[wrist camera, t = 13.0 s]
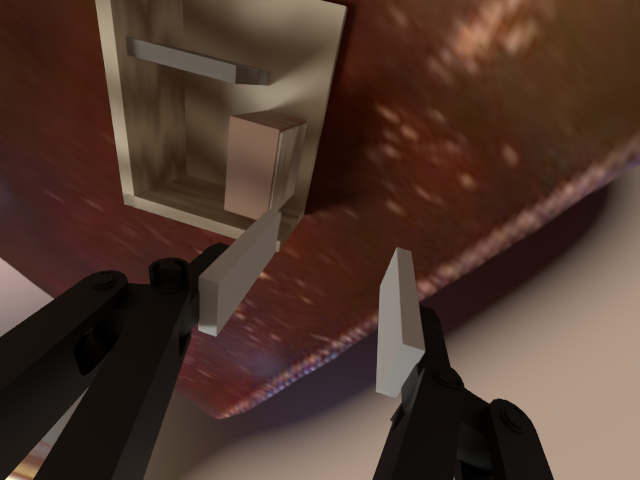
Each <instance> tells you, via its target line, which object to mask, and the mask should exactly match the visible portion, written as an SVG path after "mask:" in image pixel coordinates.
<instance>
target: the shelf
mask: <svg viewBox="0 0 640 480" xmlns="http://www.w3.org/2000/svg"><path fill="white" fill-rule="evenodd" d="M95 2H96V9H97V16H98V23H99V30H100V37H101V44H102V51H103V58H104V65H105V72H106V79H107V86H108V93H109V100H110V107H111V114H112V121H113V128H114V135H115V142H116V149H117V156H118V163H119V170H120V177H121V184H122V191H123V198H124V204H126V205H129V206H133V207H136V208H139V209H142V210H145V211H148V212H152V213H155V214H158V215H161V216H164V217H168V218H171V219H174V220H177V221H180V222H184V223H187V224H190V225H193V226H196V227H200V228H203V229H206V230H209V231H212V232H215V233H219V234H222V235H225V236H228V237H231V238H235V239H238V238H239V237H240V236H241V235H242V234H243V233H244V232H245V231H246V230H247V229H248V228H249V227H250V226H251V225H252V224H253V223H254V222H255V221H256V220H255V219H252V218H249V217H246V216H243V215H239V214H236V213H233V212H230V211H227V210H224V205H225V188H226V172H227V155H228V139H229V123H230V116H232V115H238V114H245V113H252V112H259V111H266V110H270V111H274V112H277V113H281V114H284V115H288V116H292V117H295V118H299V119H302V120H306V123H307V128H306V133H305V138H304V143H303V148H302V154H301V159H300V164H299V169H298V174H297V180H296V185H295V190H294V194H293V195H292V196H291V197H290V198H289V200H288V201H287V202H286V203H285V204H284V205H283V206H282V207H281V208H280V209H279V210H278V211H279V212H282V213H281V219H280V225H279V231H278V237H277V243H276V249H275V251H276V252H279V251H280V250H281V248H282V247H283V245H284V244H285V242H286V241H287V239H288V238H289V236H290V235H291V233H292V232H293V230H294V229H295V228H296V226H297V225H298V223H299V222H300V220H301V219H302V217H303V216H304V212H305V207H306V202H307V198H308V193H309V188H310V184H311V179H312V174H313V169H314V165H315V160H316V155H317V151H318V146H319V141H320V137H321V132H322V127H323V123H324V118H325V113H326V109H327V104H328V99H329V94H330V90H331V85H332V80H333V76H334V71H335V66H336V62H337V57H338V52H339V48H340V43H341V38H342V33H343V29H344V24H345V19H346V15H347V10H348V9H347V7H346V6H343V5H339V4H335V3H330V2H326V1H322V0H95Z"/></svg>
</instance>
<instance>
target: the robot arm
mask: <svg viewBox="0 0 640 480" xmlns="http://www.w3.org/2000/svg"><path fill="white" fill-rule="evenodd" d="M281 213H282V212H279V211H275V210H272V209H268V210H267V211H266V212H265V213H264V214H262V215H261V216H260V217H259V218H258V219H257V220H256V221H255V222H254V223H253V224H252V225H251V226H250V227H249V228H248V229H247V230H246V231H245V232H244V233H243V234H242V235H241V236H240V237H239V238H238V239H237V240H236V241H235V242H234V243H233V244H232V245H231V246H229V245H226V244H223V243H220V242H219V243H217V244H214V245H212V246H209V247H208V248H207V249H206V250H205V251H203V252H202V254H200V255H199V256H198V257H197V258H196V259H194V260H193V261H192V262H191V263H190V264H189V263H188V262H187V261H185V260H183V259H179V258H164V259H160V260H157V261H155V262H153V263H152V264H151V265H150V266H149V276H150V284H134V283H128V280H127V277H126V275H125V274H124V273H121V272H119V271H112V270H109V271H100V272H97V273H93V274H91V275H89V276H87V277H85V278H84V279H83V280H81V281H80V282H78V283H77V284H75V285H74V286H73V287H71V288H70V289H68V290H67V291H65V292H64V293H63V294H61V295H60V296H58V297H57V298H55V299H54V300H53V301H51V302H50V303H48V304H47V305H46V306H44V307H43V308H41V309H40V310H38V311H37V312H36V313H34V314H33V315H31V316H30V317H28V318H27V319H26V320H24V321H23V322H21V323H20V324H18V325H17V326H16V327H14V328H13V329H11V330H10V331H8V332H7V333H6V334H4V335H3V336H1V337H0V480H5V479H6V478H7V477H8V476H9V475H10V474H11V472H12V471H13V470H14V469H15V468H16V467H17V466H18V465H19V464H20V462H21V461H22V460H23V459H24V458H25V457H26V456H27V455H28V454H29V452H30V451H31V450H32V449H33V448H34V447H35V446H36V445H37V444H38V442H39V441H40V440H41V439H42V438H43V437H44V436H45V435H46V434H47V432H48V431H49V430H50V429H51V428H52V427H53V426H54V425H55V424H56V422H57V421H58V420H59V419H60V418H61V417H62V416H63V415H64V414H65V412H66V411H67V410H68V409H69V408H70V407H71V406H72V405H73V404H74V402H75V401H76V400H77V399H78V398H79V397H80V396H81V395H82V394H83V392H84V391H85V390H86V389H87V388H88V387H89V388H88V390H87V391H86V393H85V395H84V396H83V398H82V400H81V402H80V403H79V404H78V406H77V408H76V409H75V411H74V413H73V414H72V416H71V418H70V420H69V421H68V423H67V424H66V426H65V428H64V429H63V431H62V433H61V434H60V436H59V438H58V439H57V441H56V443H55V444H54V446H53V448H52V449H51V451H50V452H49V454H48V456H47V457H46V459H45V461H44V462H43V464H42V466H41V467H40V469H39V471H38V472H37V474H36V476H35V477H34V479H33V480H143V478H144V475H145V472H146V469H147V466H148V463H149V460H150V457H151V454H152V451H153V448H154V445H155V443H156V440H157V437H158V434H159V431H160V428H161V425H162V422H163V419H164V416H165V413H166V410H167V407H168V404H169V401H170V398H171V395H172V392H173V390H174V387H175V384H176V381H177V378H178V375H179V372H180V369H181V366H182V363H183V360H184V357H185V354H186V351H187V348H188V345H189V342H190V339H191V333H192V328H193V327H194V326H195V324H196V323H197V322H198V330H199V331H202V332H204V333H207V334H210V335H213V336H217V335H218V333H219V332H220V331H221V329H222V328H223V326H224V325H225V323H226V322H227V321H228V319H229V318H230V316H231V315H232V313H233V312H234V311H235V309H236V308H237V306H238V305H239V303H240V302H241V301H242V299H243V298H244V296H245V295H246V294H247V292H248V291H249V289H250V288H251V286H252V285H253V284H254V282H255V281H256V279H257V278H258V276H259V275H260V274H261V272H262V271H263V269H264V268H265V266H266V265H267V264H268V262H269V261H270V259H271V258H272V256H273V255H274V254H275V249H276V243H277V237H278V231H279V225H280V219H281ZM441 329H442V328H441V324H440V319H439V317H438V316H437V314H436V313H435V312H434V310H433V309H431V308H427V307H424V306H421V305H419V303H418V297H417V290H416V283H415V276H414V269H413V262H412V256H411V251H408V250H404V249H401V248H398V247H397V248H396V250H395V253H394V255H393V257H392V260H391V262H390V264H389V267H388V269H387V271H386V274H385V276H384V278H383V281H382V283H381V285H380V302H379V328H378V354H377V381H376V392H379V393H381V394H384V395H387V396H390V397H393V398H396V397H397V396H398V394H399V393H400V391H401V392H402V403H401V404H400V406H399V407H398V409H397V410H396V412H395V413H394V415H393V416H392V418H391V419H390V420H391V421H392V422H393V423H392V426H391V428H390V431H389V434H388V437H387V440H386V443H385V446H384V448H383V451H382V454H381V457H380V460H379V463H378V465H377V468H376V471H375V474H374V477H373V480H454V478H455V480H554V479H553V476H552V473H551V470H550V467H549V465H548V462H547V459H546V457H545V454H544V451H543V448H542V445H541V443H540V440H539V437H538V434H537V432H536V429H535V428H534V425H533V424H532V422H531V420H530V419H529V418H528V417H527V415H526V414H525V413H524V412H523V411H522V410H521V409H519V408H518V407H517V406H516V405H514V404H513V403H511V402H509V401H507V400H503V399H495V400H493V401H492V402H491V403H490V404H489V403H487V402H485V401H484V400H482V399H481V398H479V397H478V396H476V395H474V394H473V393H471V392H470V391H468V390H467V389H466V388H465V387H464V383H463V381H462V379H461V377H460V376H459V375H458V374H457V372H456V371H455V370H454V369H453V368H451V367H450V363H449V359H448V354H447V350H446V345H445V341H444V338H443V332H442V330H441Z"/></svg>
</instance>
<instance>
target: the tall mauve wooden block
mask: <svg viewBox="0 0 640 480" xmlns="http://www.w3.org/2000/svg"><path fill="white" fill-rule="evenodd" d="M306 128H307V123H306V120H302V119H299V118H295V117H292V116H288V115H284V114H281V113H277V112H274V111H270V110H266V111H259V112H252V113H245V114H238V115H232V116H230V123H229V139H228V155H227V172H226V188H225V205H224V210H227V211H230V212H233V213H236V214H239V215H243V216H246V217H249V218H252V219H255V220H257V219H258V218H259V217H260V216H261V215H262V214H264V213H265V212H266V211H267V210H268V209H272V210H275V211H278V210H279V209H280V208H281V207H282V206H283V205H284V204H285V203H286V202H287V201H288V200H289V198H290V197H291V196H292V195H293V194H294V190H295V185H296V180H297V174H298V169H299V164H300V159H301V154H302V148H303V143H304V138H305V133H306Z"/></svg>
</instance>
